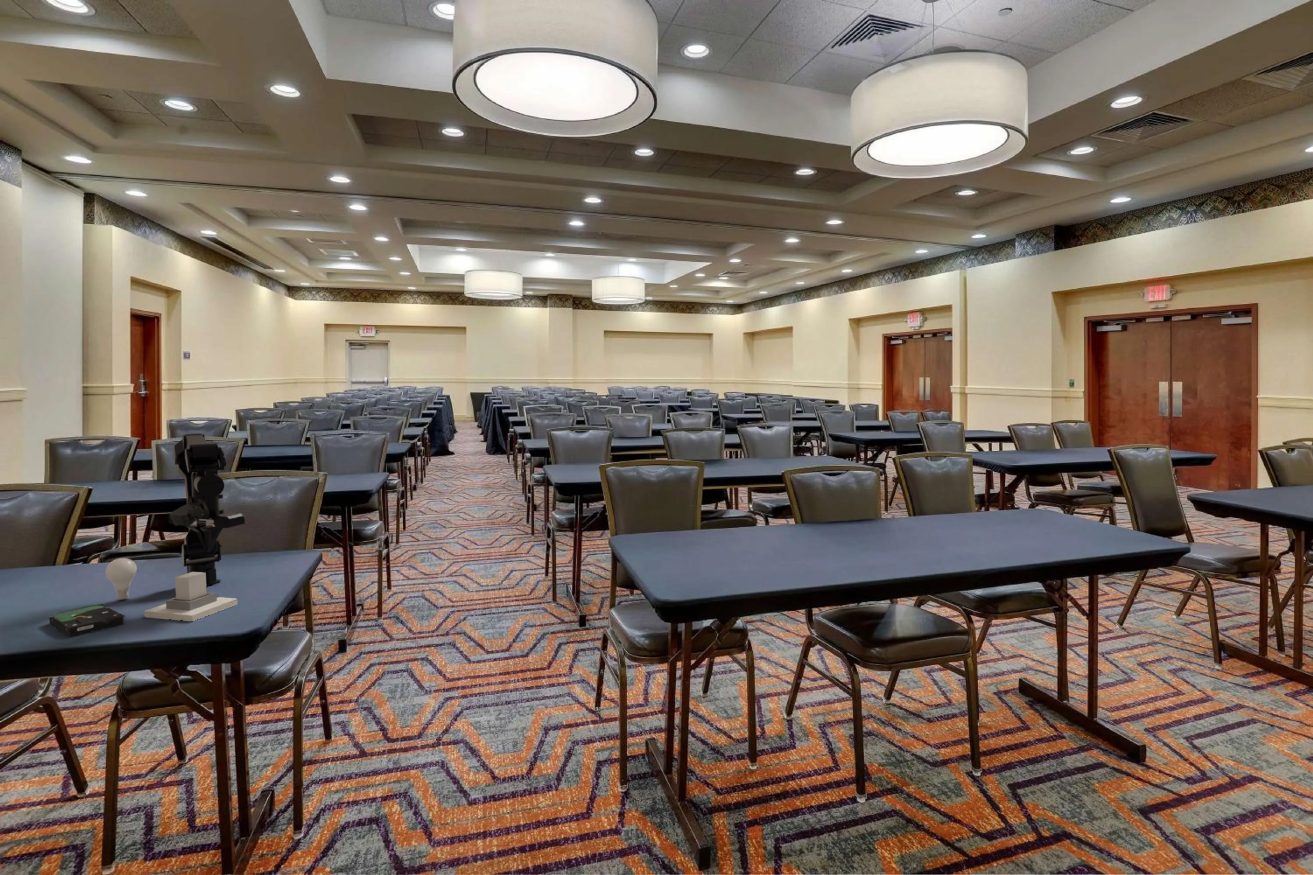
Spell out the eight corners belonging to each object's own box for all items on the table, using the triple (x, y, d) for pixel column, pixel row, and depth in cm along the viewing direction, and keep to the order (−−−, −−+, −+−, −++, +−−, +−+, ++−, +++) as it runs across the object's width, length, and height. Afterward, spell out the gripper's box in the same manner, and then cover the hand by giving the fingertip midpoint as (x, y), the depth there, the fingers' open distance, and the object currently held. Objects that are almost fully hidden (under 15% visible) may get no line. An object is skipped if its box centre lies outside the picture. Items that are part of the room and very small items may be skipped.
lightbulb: (144, 597, 180) (141, 556, 179) (118, 604, 174) (115, 562, 173) (127, 595, 182) (125, 554, 181) (101, 602, 176) (98, 560, 175)
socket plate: (144, 617, 165) (143, 602, 164) (192, 600, 177) (191, 587, 177) (192, 621, 162) (191, 607, 161) (237, 604, 174) (236, 590, 174)
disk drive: (126, 626, 160) (102, 613, 169) (125, 614, 160) (101, 602, 168) (69, 640, 152) (47, 625, 160) (69, 627, 151) (47, 614, 160)
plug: (176, 607, 167) (174, 577, 167) (193, 601, 172) (192, 571, 172) (190, 608, 167) (188, 577, 166) (207, 602, 171) (205, 572, 171)
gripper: (146, 494, 171) (150, 556, 172) (207, 499, 166) (210, 562, 168) (187, 487, 182) (190, 545, 183) (245, 491, 177) (247, 550, 179)
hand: (208, 550), depth 178 cm, fingers closed
